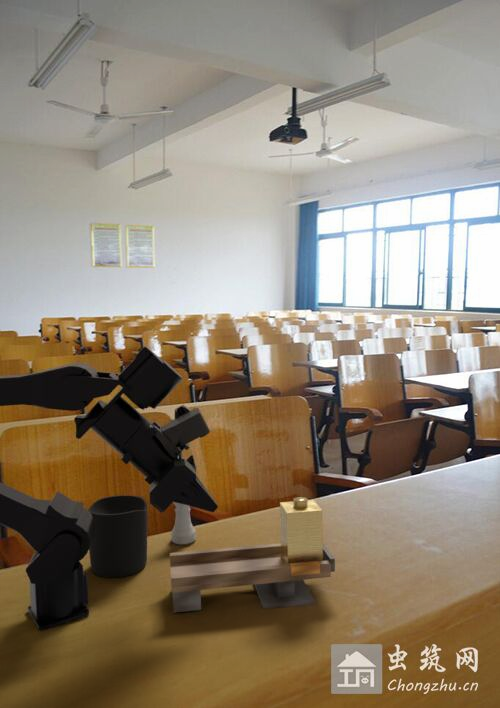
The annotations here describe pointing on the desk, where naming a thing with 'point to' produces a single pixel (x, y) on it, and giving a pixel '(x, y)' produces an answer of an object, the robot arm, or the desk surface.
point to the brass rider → (301, 531)
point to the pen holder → (118, 536)
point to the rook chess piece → (183, 526)
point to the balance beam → (245, 575)
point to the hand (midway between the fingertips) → (215, 508)
